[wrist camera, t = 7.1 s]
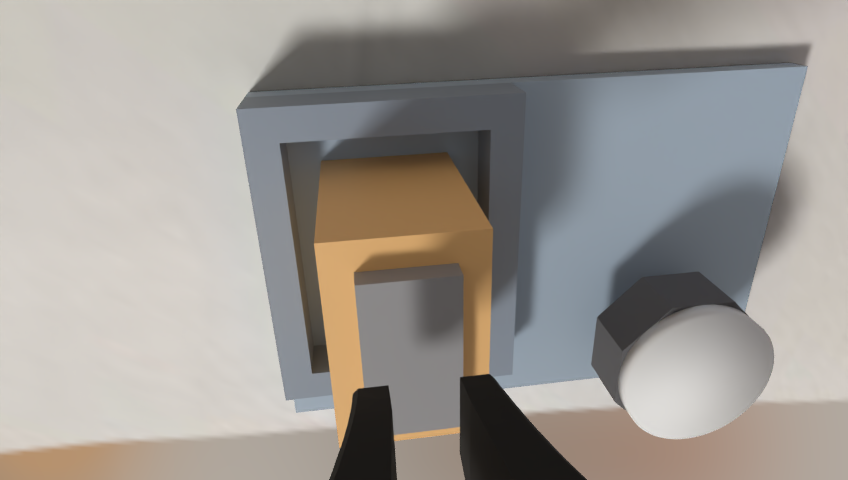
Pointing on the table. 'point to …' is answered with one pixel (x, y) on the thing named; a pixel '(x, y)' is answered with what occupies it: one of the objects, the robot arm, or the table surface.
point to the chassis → (535, 194)
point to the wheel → (680, 355)
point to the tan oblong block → (403, 286)
